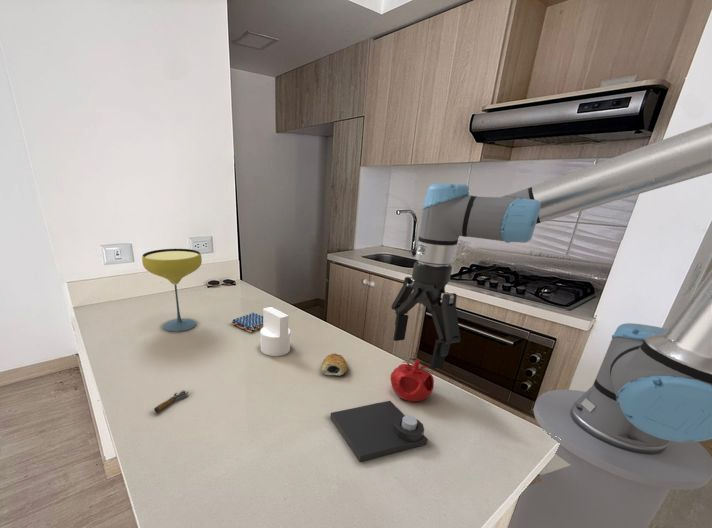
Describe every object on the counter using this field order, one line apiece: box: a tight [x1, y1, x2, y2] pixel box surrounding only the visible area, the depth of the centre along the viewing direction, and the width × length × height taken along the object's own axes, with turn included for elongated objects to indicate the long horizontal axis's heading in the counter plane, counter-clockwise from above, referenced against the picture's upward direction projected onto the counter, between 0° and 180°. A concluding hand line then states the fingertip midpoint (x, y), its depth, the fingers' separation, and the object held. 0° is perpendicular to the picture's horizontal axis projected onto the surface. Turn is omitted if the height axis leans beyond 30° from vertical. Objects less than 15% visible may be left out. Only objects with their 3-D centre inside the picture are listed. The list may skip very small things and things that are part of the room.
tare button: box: [401, 415, 418, 431], centre depth 68 cm, size 3×3×2 cm
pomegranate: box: [390, 359, 435, 402], centre depth 82 cm, size 10×10×9 cm
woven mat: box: [231, 312, 263, 333], centre depth 120 cm, size 10×11×2 cm
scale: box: [329, 400, 429, 463], centre depth 70 cm, size 15×13×3 cm
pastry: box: [320, 353, 348, 377], centre depth 93 cm, size 9×7×4 cm
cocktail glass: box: [141, 248, 203, 333], centre depth 114 cm, size 18×18×25 cm
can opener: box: [154, 390, 189, 413], centre depth 78 cm, size 9×2×1 cm, turn 144°
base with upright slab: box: [259, 306, 291, 357], centre depth 101 cm, size 9×9×12 cm
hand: (416, 352), depth 79 cm, fingers open, 13 cm apart
